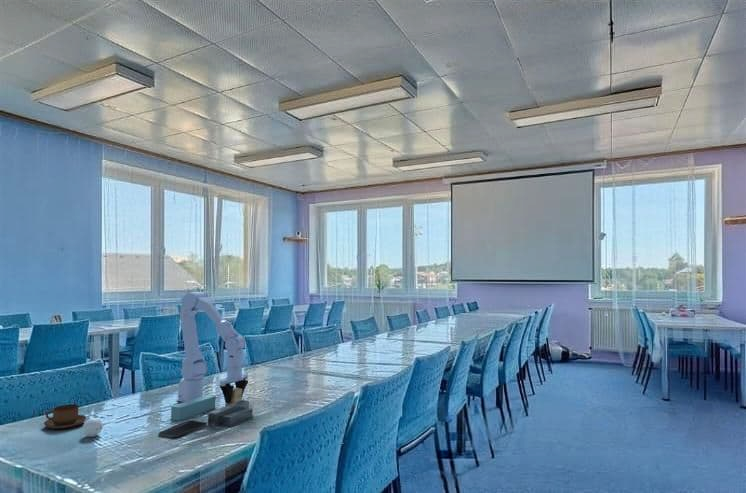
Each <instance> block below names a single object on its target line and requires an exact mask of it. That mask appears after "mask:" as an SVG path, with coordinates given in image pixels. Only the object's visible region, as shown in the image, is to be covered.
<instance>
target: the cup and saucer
mask: <svg viewBox="0 0 746 493" xmlns="http://www.w3.org/2000/svg"><path fill="white" fill-rule="evenodd" d="M79 408H80V407H79V405H78V404H63V405H58V406H55V407H54V408H52V410H48V411H46V413H45V417H46V419H47V420H45V421H44V423H43V424H44V426H45V427H46V428H48V429H51V430H52V429H53V430H61V429H70V428H74V427H77V426H79V425H82V424H83V423H85V422H86V421H87V416H85V415H81V414H79ZM50 413H52V417H50V416H49V414H50Z"/></svg>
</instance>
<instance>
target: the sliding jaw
mask: <svg viewBox="0 0 746 493" xmlns="http://www.w3.org/2000/svg"><path fill="white" fill-rule="evenodd" d="M216 401H217V400H216V395H211V394H206V395H203V396H202V397H199V398H196V399H193V400H190V401H186V402H180V403H177V404H174V405H171V406H170V407H171V410H170V419H171V420H175V421H178V422H180V421H183V420H184V419H188V418H190V417H193V416H196V415H199V414H202V413H205V412H207V411H208V412H209V411H210V410H213V409H215V408H216Z"/></svg>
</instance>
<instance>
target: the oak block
mask: <svg viewBox="0 0 746 493" xmlns="http://www.w3.org/2000/svg"><path fill="white" fill-rule="evenodd" d="M242 400H243V396H242V389H241V388H236V387H234V388H233V391H232V396H231V403H224V404H225V406H228V405H231V404H233V403H236V402H239V401H242Z"/></svg>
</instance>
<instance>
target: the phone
mask: <svg viewBox="0 0 746 493" xmlns="http://www.w3.org/2000/svg"><path fill="white" fill-rule="evenodd" d="M202 427H203V428H205V427H208V422H203V421H198V420H187V421H185V422H181V423H180V424H176V425H175V426H172V427H170V428H167V429H164V430H163V431H162V430H161V431H160V432H158V437H159V438H160V437H162V438H167V439H173V440H175V439H179V438H182V437H184V436H186V435H189V434H191V433H193V431H194V432H196V431H198V430H200V428H201V429H203V428H202ZM195 430H196V431H195Z"/></svg>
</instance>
